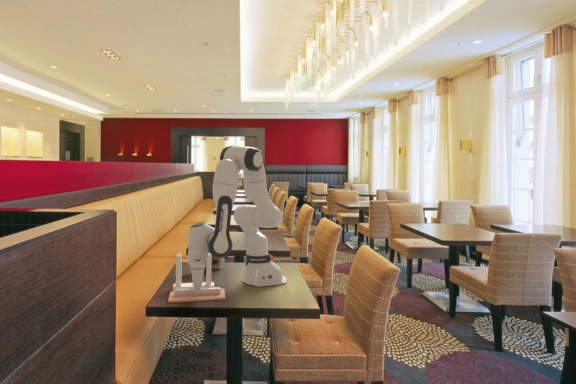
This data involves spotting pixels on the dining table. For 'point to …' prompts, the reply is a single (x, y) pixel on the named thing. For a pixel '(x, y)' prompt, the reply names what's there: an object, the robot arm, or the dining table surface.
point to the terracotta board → (197, 297)
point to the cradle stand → (190, 285)
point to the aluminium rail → (192, 291)
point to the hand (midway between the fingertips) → (197, 290)
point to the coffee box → (217, 262)
